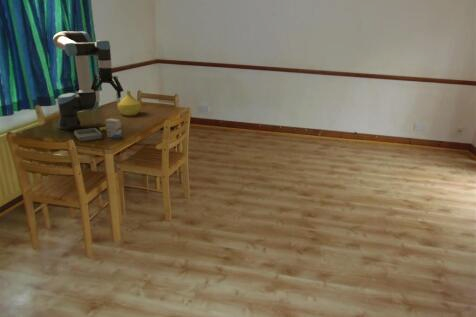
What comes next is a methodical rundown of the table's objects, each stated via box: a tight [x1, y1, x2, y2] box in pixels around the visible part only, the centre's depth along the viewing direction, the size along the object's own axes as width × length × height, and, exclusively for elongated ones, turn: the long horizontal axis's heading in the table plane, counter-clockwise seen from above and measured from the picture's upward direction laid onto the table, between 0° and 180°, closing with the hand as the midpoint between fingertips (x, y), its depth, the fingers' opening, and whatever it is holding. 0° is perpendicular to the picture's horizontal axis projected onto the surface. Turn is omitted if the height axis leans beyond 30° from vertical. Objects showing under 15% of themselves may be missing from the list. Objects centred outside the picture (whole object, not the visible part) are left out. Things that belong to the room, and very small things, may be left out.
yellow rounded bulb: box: [117, 90, 142, 117], centre depth 299 cm, size 18×18×19 cm
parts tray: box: [73, 127, 103, 143], centre depth 243 cm, size 16×14×3 cm
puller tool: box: [98, 126, 107, 132], centre depth 260 cm, size 8×4×2 cm, turn 125°
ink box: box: [105, 118, 123, 139], centre depth 243 cm, size 9×5×12 cm, turn 69°
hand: (108, 102), depth 229 cm, fingers open, 13 cm apart
